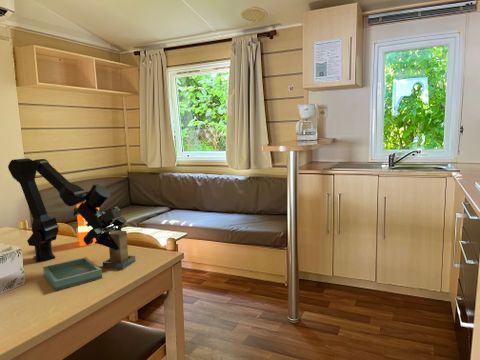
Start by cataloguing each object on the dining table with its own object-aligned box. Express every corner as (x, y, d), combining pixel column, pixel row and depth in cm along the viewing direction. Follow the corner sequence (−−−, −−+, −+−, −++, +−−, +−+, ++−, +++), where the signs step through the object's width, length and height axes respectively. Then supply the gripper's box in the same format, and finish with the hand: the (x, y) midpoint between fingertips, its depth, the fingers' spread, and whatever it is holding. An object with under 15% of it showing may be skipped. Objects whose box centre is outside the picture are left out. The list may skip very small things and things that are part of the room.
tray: (43, 275, 119) (43, 267, 119) (86, 264, 128) (86, 256, 127) (55, 291, 107) (54, 281, 106) (102, 278, 116) (101, 269, 115)
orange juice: (80, 241, 157) (76, 197, 154) (101, 238, 160) (98, 195, 157) (79, 246, 149) (75, 200, 147) (101, 243, 153) (98, 198, 150)
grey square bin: (103, 267, 125) (102, 262, 124) (116, 259, 132) (116, 254, 132) (123, 269, 123) (122, 264, 122) (135, 261, 130) (135, 255, 130)
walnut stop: (110, 266, 126) (108, 233, 124) (117, 261, 130) (115, 230, 129) (121, 267, 125) (119, 234, 123) (128, 262, 129) (126, 230, 128)
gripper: (88, 206, 116) (119, 240, 115) (120, 196, 134) (148, 225, 133) (70, 228, 119) (100, 261, 118) (104, 215, 137) (131, 244, 136)
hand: (121, 247), depth 126 cm, fingers closed on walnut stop, 4 cm apart
